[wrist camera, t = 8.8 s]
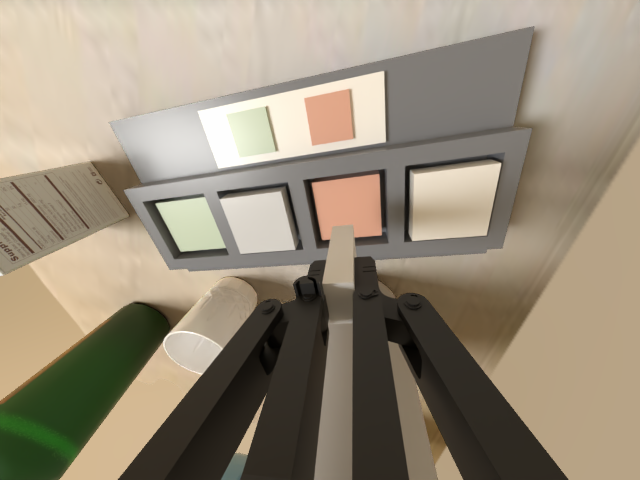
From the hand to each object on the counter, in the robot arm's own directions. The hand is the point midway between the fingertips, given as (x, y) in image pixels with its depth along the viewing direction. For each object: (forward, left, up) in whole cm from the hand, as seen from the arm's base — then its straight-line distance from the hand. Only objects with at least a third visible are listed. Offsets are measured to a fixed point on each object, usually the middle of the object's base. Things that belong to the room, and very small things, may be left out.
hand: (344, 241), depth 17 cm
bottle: (-18, +37, -9) cm, 42 cm away
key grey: (0, +8, -6) cm, 10 cm away
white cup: (-13, +18, -9) cm, 24 cm away
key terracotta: (0, 0, -7) cm, 7 cm away
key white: (0, -9, -6) cm, 10 cm away
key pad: (+2, +4, -9) cm, 10 cm away
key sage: (0, +17, -7) cm, 18 cm away
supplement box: (+4, +32, -9) cm, 34 cm away
